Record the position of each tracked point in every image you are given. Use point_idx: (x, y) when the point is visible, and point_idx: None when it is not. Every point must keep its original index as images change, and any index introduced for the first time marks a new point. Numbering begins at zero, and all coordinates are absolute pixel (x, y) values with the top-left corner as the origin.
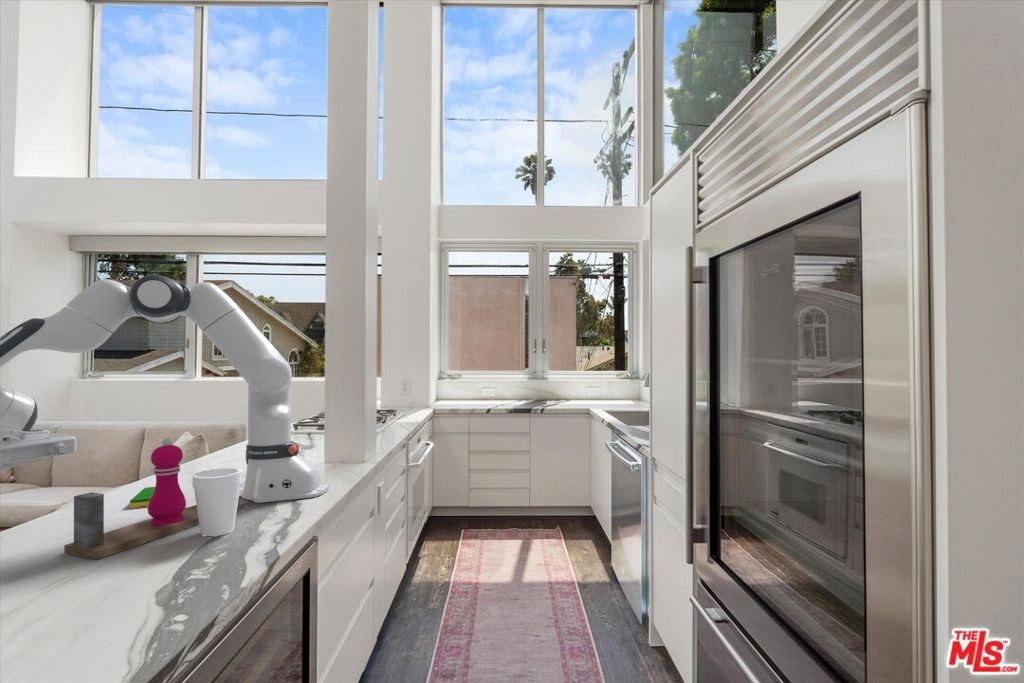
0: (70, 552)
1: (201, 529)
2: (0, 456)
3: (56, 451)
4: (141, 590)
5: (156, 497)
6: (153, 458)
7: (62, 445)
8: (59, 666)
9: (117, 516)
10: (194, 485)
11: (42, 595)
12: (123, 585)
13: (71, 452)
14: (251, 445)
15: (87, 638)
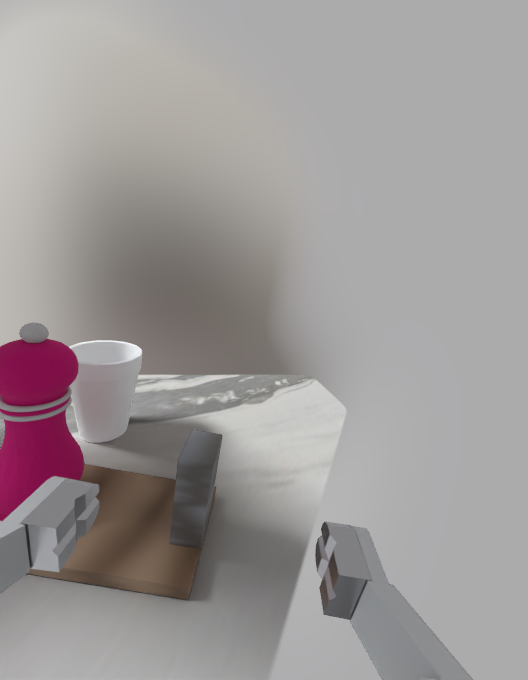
0: (195, 570)
1: (122, 427)
2: (364, 528)
3: (73, 530)
4: (262, 410)
5: (69, 451)
6: (69, 373)
7: (32, 501)
8: (330, 397)
9: None
10: (131, 371)
11: (301, 467)
12: (260, 424)
13: None
14: None
15: (313, 402)
